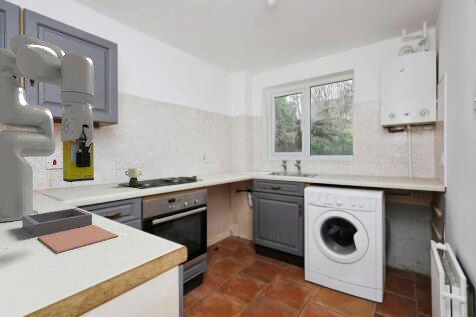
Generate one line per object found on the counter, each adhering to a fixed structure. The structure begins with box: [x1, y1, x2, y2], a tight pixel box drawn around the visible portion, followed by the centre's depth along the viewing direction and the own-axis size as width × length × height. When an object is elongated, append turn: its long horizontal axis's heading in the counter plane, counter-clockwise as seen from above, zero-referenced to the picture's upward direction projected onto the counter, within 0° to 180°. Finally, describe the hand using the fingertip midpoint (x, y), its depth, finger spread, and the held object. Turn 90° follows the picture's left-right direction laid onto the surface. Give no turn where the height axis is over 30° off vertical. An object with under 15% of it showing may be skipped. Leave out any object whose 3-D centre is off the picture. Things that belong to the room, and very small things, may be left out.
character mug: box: [125, 167, 143, 187], centre depth 167 cm, size 11×7×13 cm, turn 107°
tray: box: [21, 207, 93, 238], centre depth 74 cm, size 14×14×4 cm
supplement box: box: [62, 141, 95, 183], centre depth 64 cm, size 6×6×11 cm
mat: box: [37, 224, 119, 254], centre depth 64 cm, size 16×14×1 cm
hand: (78, 166), depth 64 cm, fingers closed on supplement box, 6 cm apart
